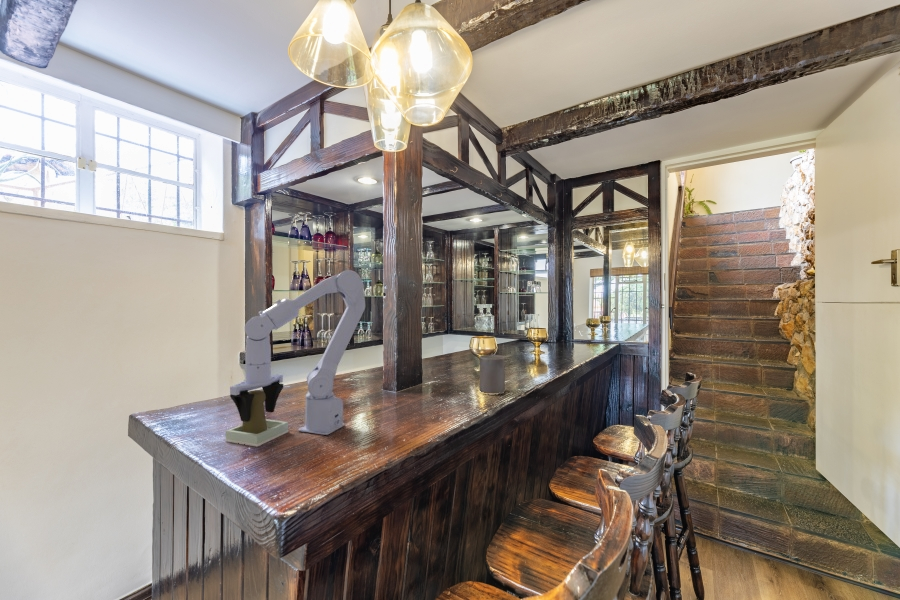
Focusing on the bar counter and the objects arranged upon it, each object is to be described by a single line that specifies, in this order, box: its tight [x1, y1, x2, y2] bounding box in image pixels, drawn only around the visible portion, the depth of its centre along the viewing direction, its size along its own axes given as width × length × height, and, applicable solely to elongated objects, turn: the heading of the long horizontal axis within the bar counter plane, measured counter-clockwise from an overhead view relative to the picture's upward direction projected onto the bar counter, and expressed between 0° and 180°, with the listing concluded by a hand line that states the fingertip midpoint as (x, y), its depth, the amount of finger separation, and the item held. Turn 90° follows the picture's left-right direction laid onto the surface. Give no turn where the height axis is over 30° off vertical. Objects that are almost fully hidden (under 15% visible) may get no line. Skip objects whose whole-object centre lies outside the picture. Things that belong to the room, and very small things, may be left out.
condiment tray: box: [225, 418, 289, 448], centre depth 91 cm, size 10×10×3 cm
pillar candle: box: [478, 352, 506, 393], centre depth 136 cm, size 10×10×15 cm
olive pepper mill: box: [241, 389, 267, 434], centre depth 91 cm, size 6×6×11 cm
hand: (258, 416), depth 91 cm, fingers open, 7 cm apart
